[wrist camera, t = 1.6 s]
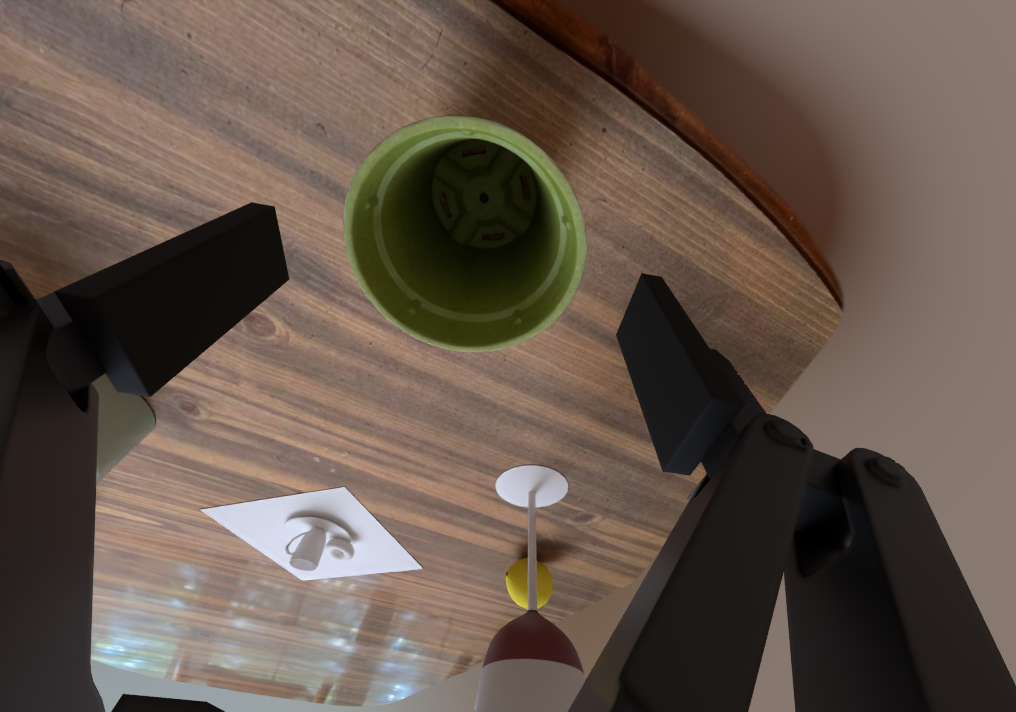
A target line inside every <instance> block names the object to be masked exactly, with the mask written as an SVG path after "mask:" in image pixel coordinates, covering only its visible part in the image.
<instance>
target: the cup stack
mask: <svg viewBox="0 0 1016 712" xmlns="http://www.w3.org/2000/svg"><path fill="white" fill-rule="evenodd" d="M92 384H93V385H94V387H95V388H96V390H97V392H98V394H99V410H98V441H97V472H96V484H97V483H98V482H99V481H100V480H101V479H102V478H104V477H105V476H106V475H107V474H108V473H109V472H110V471H111V470H112V469H113V468H114V467H115V466H116V465H117V464H118V463H119V462H120V461H121V460H122V459H123V458H124V457H125V456H127V455H128V454H129V453H130V452H131V451H132V450H133V449H134V448H135V447H136V446H137V445H138V444H139V443H140V442H141V441H142V440H143V439H144V438H145V437H146V436H147V435H148V434H150V433H151V432H152V430H153V429H154V427H155V417H154V414H153V412H152V410H151V408H150V407H149V405H148V404H147V403H146V402H145V400H144V399H143V398H142V397H141V396H140V395H134V394H127V393H120V392H117V391H116V389H115V388H114V386H113V384H112V383H111V381H110V380H109V378H108V376H107V375H106V373H105V374H104V375H102V376H101V377H99V378H98V379H97V380H95V381H94V382H92Z"/></svg>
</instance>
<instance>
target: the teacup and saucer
mask: <svg viewBox="0 0 1016 712" xmlns="http://www.w3.org/2000/svg"><path fill="white" fill-rule="evenodd" d="M283 531H284V533H285V534H286V535H287V536H288V537H289V538H290V539H291V540H290V541H289V542H288V543H287V544H286V546H285V548H284V551H285V554H286V555H287V556H289V557H290V559H289V561H288V564H289V565H290V566H291V567H292V568H294V569H296V570H299V571H303V572H313V571H316V570H317V569H318V567H319V564H320V562H321V559H322V556H323V553H324V551H325V553H326V554H327V555H328V556H329V557H330V558H331V559H333V560H335V561H338V562H348V561H350V560H352V559H353V558H354V556H355V552H356V550H355V547H354V546H353V544H352V543H351V542H352V537H351V535H350V533H349V532H348V531H347V530H346V529H345V528H344V527H342V526H341V525H339V524H337V523H335V522H333V521H330V520H328V519H324V518H321V517H315V516H296V517H292V518H290V519H288V520H287V521H286V522H285V523H284V524H283ZM293 542H296V543H298V544H297V546H296V548H295V550H294V551H293V552H291V551H290V545H291V544H292V543H293Z"/></svg>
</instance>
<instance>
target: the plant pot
mask: <svg viewBox="0 0 1016 712" xmlns="http://www.w3.org/2000/svg"><path fill="white" fill-rule="evenodd" d="M478 146H482V147H485V148H486V151H487V152H486V153H485V154H474V155H470V156H466V157H462V155H463V152H464V151H466V150H468V149H470V148H473V147H478ZM521 175H522V176H523V177H525V178H526V181H527V184H528V189H529V197H528V199H527V200H524V199H523V188H522V183H521V180H520V176H521ZM442 193H445V194H446V199H447V204H448V207H449V211H450V213H451V216H450V217H449V216H447V215H446V214H445V211H444V208H443V206H442V204H441V201H440V194H442ZM482 193H485V194H486V195H487V196H488V202H486V203H482V202H481V201H480V195H481V194H482ZM499 232H503V233H504V236H503V237H502V238H501V239H498V240H492V241H488V240H484V239H482V236H483V235H491V234H497V233H499ZM343 235H344V244H345V249H346V253H347V257H348V260H349V263H350V266H351V268H352V271H353V273H354V274H355V276H356V279H357V281H358V283H359V285H360V287H361V288H362V290H363V291H364V293H365V295H366V296H367V297H368V298H369V299H370V301H371V302H372V303H373V305H374V306H375V307H376V308H377V309H378V310H379V312H380V313H381V314H382V315H383V316H385V317H386V318H387V319H388V320H389V321H390V322H391V323H393V324H394V325H396V326H397V327H399V328H400V329H401V330H403V331H405V332H406V333H407V334H409V335H411V336H412V337H414V338H416V339H418V340H421V341H423V342H426V343H428V344H430V345H433V346H436V347H439V348H444V349H448V350H453V351H461V352H484V351H494V350H499V349H504V348H508V347H511V346H514V345H517V344H519V343H522V342H524V341H526V340H528V339H529V338H531V337H533V336H535V335H537V334H538V333H540V332H541V331H543V330H544V329H545V328H547V327H548V326H549V325H550V324H551V323H552V322H553V321H554V320H555V319H557V318H558V317H559V316H560V315H561V314H562V313H563V311H564V310H565V309H566V307H567V306H568V304H569V303H570V301H571V300H572V298H573V296H574V295H575V293H576V291H577V289H578V286H579V284H580V281H581V278H582V275H583V271H584V267H585V262H586V252H587V236H586V228H585V221H584V217H583V213H582V210H581V207H580V204H579V201H578V199H577V196H576V194H575V192H574V190H573V188H572V186H571V184H570V183H569V181H568V180H567V178H566V176H565V175H564V173H563V172H562V170H561V169H560V168H559V167H558V165H557V164H556V163H555V162H554V161H553V159H552V158H551V157H550V156H549V155H548V154H547V153H546V152H545V151H544V150H543V149H541V148H540V147H539V146H538V145H537V144H536V143H534V142H533V141H532V140H530V139H529V138H527V137H526V136H524V135H523V134H521V133H519V132H517V131H516V130H514V129H512V128H510V127H508V126H505V125H503V124H500V123H498V122H495V121H492V120H488V119H484V118H479V117H473V116H463V115H450V116H439V117H433V118H428V119H424V120H420V121H417V122H414V123H412V124H409V125H407V126H404V127H402V128H401V129H399V130H397V131H395V132H394V133H392V134H390V135H389V136H388V137H386V138H385V139H384V140H383V141H381V142H380V143H379V144H378V145H377V146H376V147H375V148H374V149H373V150H372V151H371V152H370V153H369V154H368V155H367V156H366V158H365V159H364V160H363V162H362V163H361V165H360V166H359V168H358V169H357V171H356V173H355V175H354V177H353V179H352V181H351V184H350V186H349V189H348V192H347V196H346V199H345V205H344V214H343Z"/></svg>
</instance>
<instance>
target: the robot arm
mask: <svg viewBox="0 0 1016 712" xmlns="http://www.w3.org/2000/svg"><path fill="white" fill-rule="evenodd" d="M288 280H289V275H288V270H287V266H286V261H285V256H284V251H283V246H282V241H281V236H280V231H279V226H278V221H277V216H276V211H275V207H274V206H269V205H263V204H258V203H252V202H251V203H249V204H247V205H245V206H243V207H240V208H238V209H236V210H234V211H232V212H229V213H227V214H225V215H223V216H220V217H218V218H216V219H214V220H212V221H209V222H207V223H205V224H203V225H201V226H198V227H196V228H194V229H192V230H190V231H187V232H185V233H183V234H181V235H178V236H176V237H174V238H172V239H170V240H167V241H165V242H163V243H161V244H159V245H156V246H154V247H152V248H150V249H147V250H145V251H143V252H141V253H139V254H136V255H134V256H132V257H130V258H128V259H125V260H123V261H121V262H119V263H116V264H114V265H112V266H110V267H108V268H105V269H103V270H101V271H99V272H97V273H94V274H92V275H90V276H88V277H85V278H83V279H81V280H79V281H77V282H74V283H72V284H70V285H68V286H66V287H63V288H61V289H59V290H57V291H55V292H53V293H51V294H49V295H47V296H44V297H42V298H40V299H38V300H36V299H35V298H34V296H33V295H32V293H31V292H30V290H29V289H28V288H27V286H26V285H25V283H24V282H23V280H22V279H21V277H20V276H19V274H18V273H17V271H16V270H15V268H14V267H13V265H12V264H11V263H8V262H6V261H3V260H0V712H105V709H104V705H103V701H102V698H101V696H100V694H99V692H98V690H97V688H96V686H95V684H94V682H93V679H92V674H91V665H90V657H91V627H92V596H93V565H94V534H95V503H96V472H97V441H98V410H99V394H98V392H97V390H96V388H95V387H94V385H93V384H92V382H94V381H95V380H97V379H98V378H99V377H101V376H102V375H104V374H105V373H106V375H107V376H108V378H109V380H110V381H111V383H112V384H113V386H114V388H115V389H116V391H117V392H120V393H127V394H134V395H141V396H147V397H151V396H152V395H153V394H154V393H156V392H157V391H158V390H159V389H160V388H161V387H163V386H164V385H165V384H166V383H167V382H169V381H170V380H171V379H172V378H173V377H174V376H176V375H177V374H178V373H179V372H180V371H182V370H183V369H184V368H185V367H186V366H187V365H189V364H190V363H191V362H192V361H193V360H195V359H196V358H197V357H198V356H199V355H200V354H202V353H203V352H204V351H205V350H206V349H208V348H209V347H210V346H211V345H212V344H214V343H215V342H216V341H217V340H218V339H219V338H221V337H222V336H223V335H224V334H225V333H227V332H228V331H229V330H230V329H231V328H232V327H234V326H235V325H236V324H237V323H238V322H240V321H241V320H242V319H243V318H244V317H245V316H247V315H248V314H249V313H250V312H251V311H253V310H254V309H255V308H256V307H257V306H258V305H260V304H261V303H262V302H263V301H264V300H266V299H267V298H268V297H269V296H270V295H271V294H273V293H274V292H275V291H276V290H277V289H279V288H280V287H281V286H282V285H283V284H284V283H286V282H287V281H288ZM616 336H617V339H618V342H619V345H620V348H621V351H622V354H623V357H624V360H625V362H626V365H627V368H628V371H629V374H630V377H631V380H632V383H633V386H634V389H635V392H636V395H637V398H638V400H639V403H640V406H641V409H642V412H643V415H644V418H645V421H646V424H647V427H648V430H649V433H650V436H651V438H652V441H653V444H654V447H655V450H656V453H657V456H658V459H659V462H660V465H661V468H662V471H663V472H670V473H677V474H684V475H691V473H692V472H693V471H694V470H695V468H696V467H697V466H698V464H699V463H700V462H702V464H703V466H704V468H705V471H706V473H707V474H706V476H705V477H704V478H703V479H702V480H701V482H700V483H699V484H698V485H697V487H696V488H695V489H694V490H693V491H692V493H691V494H690V495H689V496H688V498H687V499H689V500H690V501H689V502H688V504H687V506H686V508H685V509H684V511H683V513H682V514H681V516H680V518H679V520H678V521H677V523H676V525H675V527H674V528H673V530H672V532H671V533H670V535H669V537H668V539H667V540H666V542H665V544H664V546H663V547H662V549H661V551H660V553H659V554H658V556H657V558H656V560H655V561H654V563H653V565H652V566H651V568H650V570H649V572H648V573H647V575H646V577H645V578H644V580H643V582H642V584H641V586H640V587H639V589H638V591H637V593H636V594H635V596H634V598H633V599H632V601H631V603H630V605H629V606H628V608H627V610H626V612H625V613H624V615H623V617H622V619H621V620H620V622H619V623H618V625H617V627H616V629H615V630H614V632H613V634H612V636H611V638H610V639H609V641H608V643H607V644H606V646H605V648H604V649H603V651H602V653H601V655H600V656H599V658H598V660H597V662H596V663H595V665H594V667H593V669H592V670H591V672H590V674H589V675H588V677H587V679H586V681H585V682H584V684H583V686H582V688H581V689H580V691H579V693H578V694H577V696H576V698H575V700H574V701H573V703H572V705H571V707H570V708H569V710H568V712H748V710H749V706H750V702H751V698H752V694H753V691H754V687H755V683H756V679H757V675H758V671H759V667H760V663H761V659H762V655H763V651H764V647H765V643H766V639H767V635H768V631H769V628H770V624H771V619H772V616H773V612H774V607H775V604H776V600H777V596H778V591H779V588H780V584H781V580H782V576H783V572H784V579H785V591H786V602H787V615H788V627H789V638H790V651H791V663H792V675H793V687H794V699H795V711H796V712H1016V686H1015V683H1014V681H1013V679H1012V677H1011V675H1010V673H1009V671H1008V669H1007V667H1006V665H1005V663H1004V660H1003V659H1002V656H1001V654H1000V652H999V650H998V648H997V646H996V644H995V642H994V639H993V637H992V635H991V633H990V631H989V629H988V627H987V625H986V623H985V621H984V619H983V617H982V614H981V612H980V610H979V608H978V606H977V604H976V602H975V600H974V598H973V596H972V594H971V591H970V589H969V587H968V585H967V583H966V581H965V579H964V577H963V575H962V573H961V571H960V568H959V566H958V564H957V562H956V560H955V558H954V556H953V554H952V552H951V550H950V548H949V546H948V544H947V541H946V539H945V537H944V535H943V533H942V531H941V529H940V527H939V525H938V523H937V520H936V518H935V516H934V514H933V512H932V510H931V508H930V506H929V504H928V502H927V500H926V497H925V495H924V493H923V491H922V489H921V487H920V486H919V484H918V483H917V482H916V480H915V479H914V478H913V477H912V476H911V475H910V474H909V473H908V472H907V471H906V470H905V468H903V467H902V466H901V465H900V464H898V463H895V461H894V460H892V459H891V458H889V457H885V456H883V455H881V454H879V453H877V452H875V451H872V450H868V449H865V448H855V449H853V450H852V451H850V452H849V453H848V454H847V455H846V456H845V457H843V458H842V459H838V458H836V457H833V456H830V455H828V454H825V453H822V452H820V451H817V450H814V449H813V444H812V443H811V442H810V440H809V438H808V437H807V436H806V435H805V434H804V433H803V432H802V431H801V430H800V429H799V428H797V427H796V426H794V425H793V424H791V423H790V422H788V421H786V420H784V419H782V418H779V417H777V416H774V415H770V414H766V412H765V411H764V409H763V408H762V406H761V405H760V404H759V402H758V401H757V399H756V398H755V397H754V395H753V394H752V392H751V391H750V390H749V388H748V387H747V385H745V384H744V381H743V380H742V378H741V377H740V375H737V371H736V370H735V368H734V367H733V366H732V364H731V363H730V361H729V360H727V359H726V358H725V357H724V356H723V355H721V354H720V353H719V352H718V351H717V350H714V349H710V348H709V347H708V345H707V344H706V342H705V341H704V339H703V338H702V336H701V335H700V333H699V332H698V330H697V329H696V328H695V326H694V325H693V323H692V322H691V320H690V319H689V317H688V316H687V314H686V313H685V311H684V310H683V308H682V307H681V305H680V304H679V302H678V301H677V299H676V298H675V296H674V295H673V293H672V292H671V290H670V289H669V287H668V286H667V284H666V283H665V281H664V280H663V278H662V277H659V276H654V275H648V274H643V273H642V274H641V276H640V278H639V281H638V283H637V286H636V288H635V291H634V293H633V295H632V298H631V300H630V303H629V305H628V307H627V310H626V312H625V315H624V317H623V319H622V322H621V324H620V327H619V329H618V331H617V334H616ZM112 712H224V711H223V710H221V709H219V708H217V707H215V706H213V705H211V704H210V703H208V702H202V701H192V700H181V699H171V698H161V697H150V696H139V695H129V694H123V695H122V696H121V698H120V699H119V701H118V703H117V704H116V706H115V707H114V709H113V710H112Z"/></svg>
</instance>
